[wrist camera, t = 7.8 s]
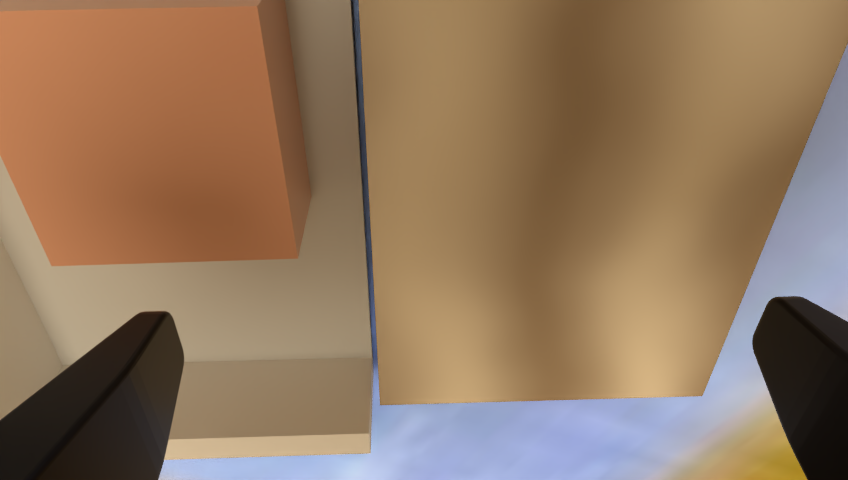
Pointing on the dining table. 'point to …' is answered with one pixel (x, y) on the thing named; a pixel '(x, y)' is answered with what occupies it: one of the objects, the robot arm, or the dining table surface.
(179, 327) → the box
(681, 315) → the wooden board
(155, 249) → the block
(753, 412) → the dining table surface
